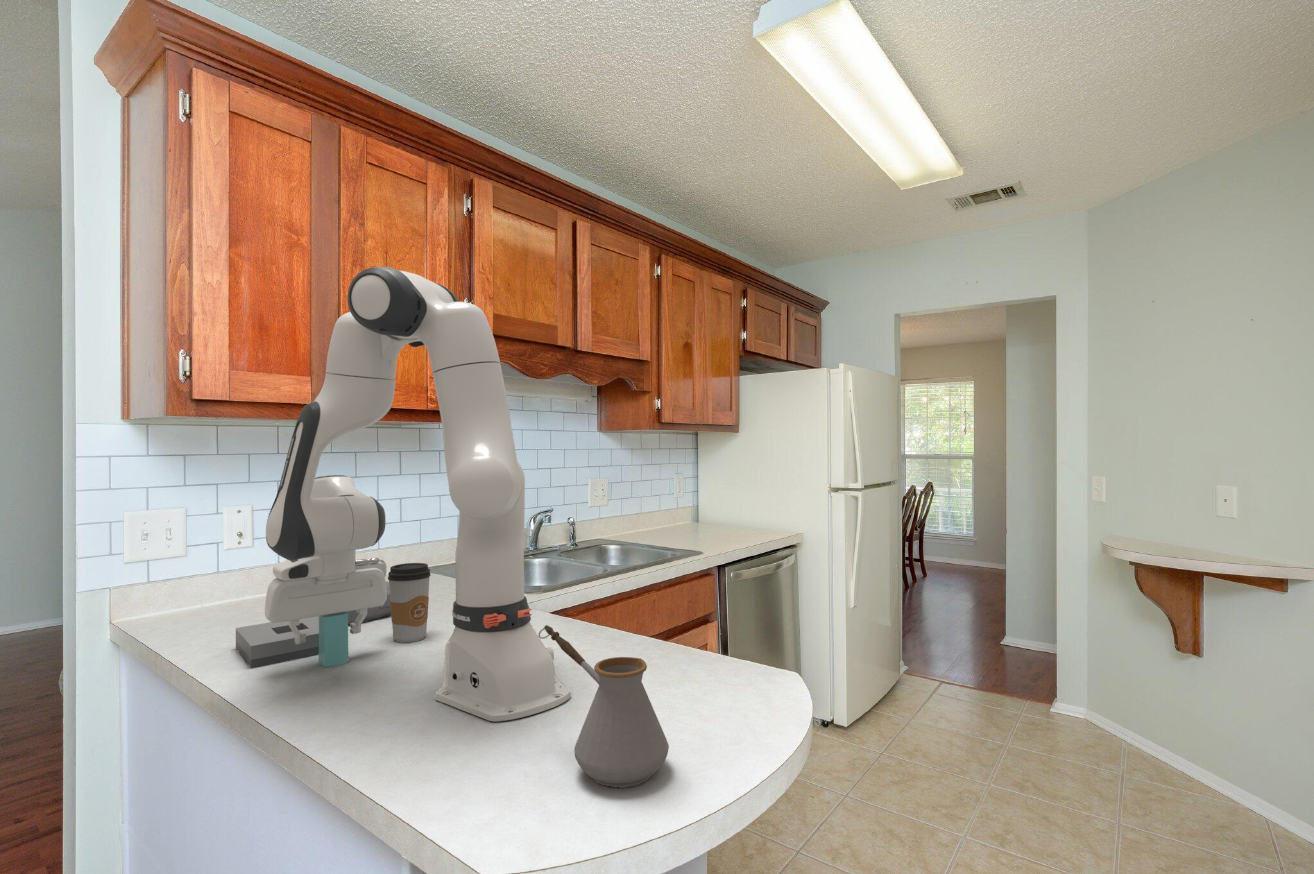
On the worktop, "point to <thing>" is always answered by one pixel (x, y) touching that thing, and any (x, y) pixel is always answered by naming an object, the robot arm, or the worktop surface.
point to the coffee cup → (409, 601)
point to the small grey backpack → (373, 610)
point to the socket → (276, 642)
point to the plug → (333, 639)
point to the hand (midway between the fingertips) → (328, 637)
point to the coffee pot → (617, 723)
